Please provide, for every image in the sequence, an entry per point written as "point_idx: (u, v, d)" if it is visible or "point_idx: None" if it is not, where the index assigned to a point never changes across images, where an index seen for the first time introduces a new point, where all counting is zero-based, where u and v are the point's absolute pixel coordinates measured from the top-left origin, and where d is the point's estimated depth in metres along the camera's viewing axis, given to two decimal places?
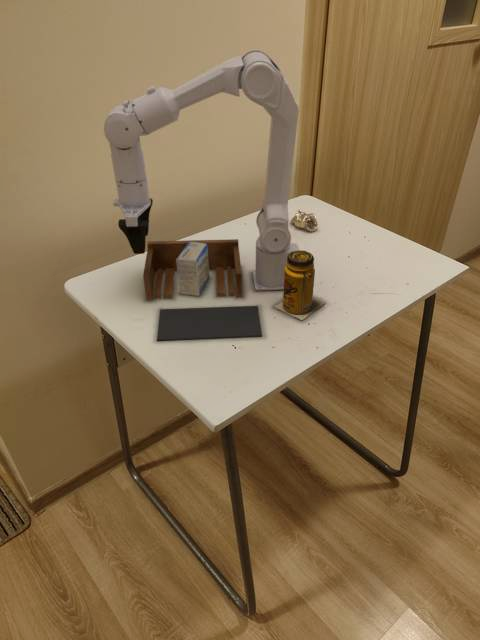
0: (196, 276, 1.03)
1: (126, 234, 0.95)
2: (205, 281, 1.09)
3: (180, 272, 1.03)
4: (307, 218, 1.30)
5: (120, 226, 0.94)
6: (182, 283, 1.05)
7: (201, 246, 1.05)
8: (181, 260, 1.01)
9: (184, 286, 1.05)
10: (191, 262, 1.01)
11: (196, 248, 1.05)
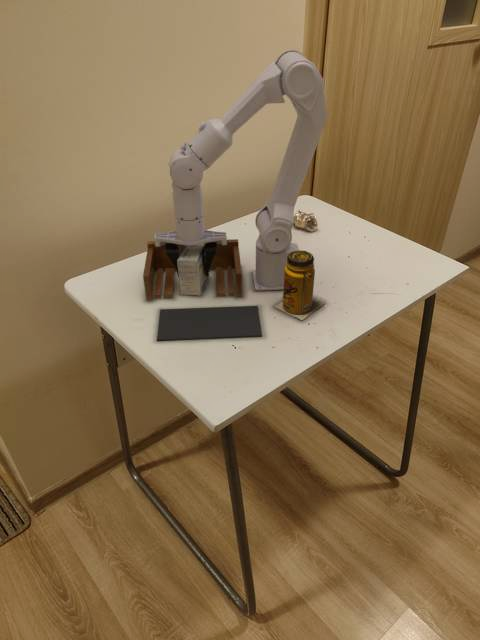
0: (198, 276, 1.03)
1: None
2: (205, 281, 1.09)
3: (181, 273, 1.03)
4: (307, 218, 1.30)
5: None
6: (183, 283, 1.05)
7: (200, 246, 1.05)
8: (182, 261, 1.01)
9: (185, 287, 1.05)
10: (192, 262, 1.01)
11: (195, 248, 1.05)
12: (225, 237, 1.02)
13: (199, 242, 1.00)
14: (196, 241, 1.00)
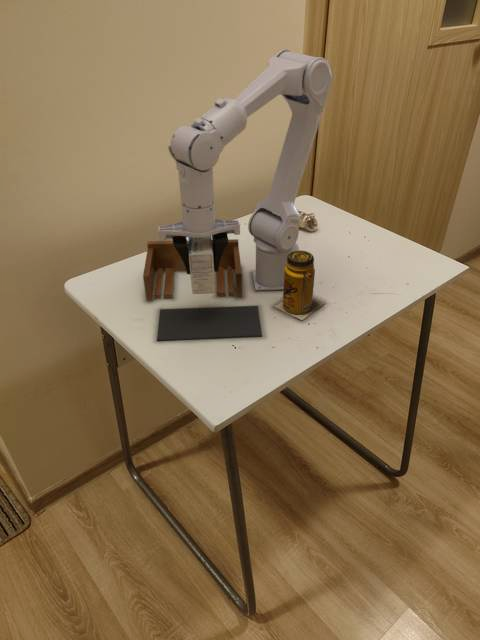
0: (213, 271, 0.92)
1: None
2: None
3: (193, 269, 0.91)
4: (307, 218, 1.30)
5: None
6: (196, 281, 0.93)
7: (207, 237, 0.94)
8: (195, 256, 0.89)
9: (198, 285, 0.93)
10: (207, 256, 0.89)
11: (203, 240, 0.93)
12: (238, 225, 0.90)
13: (211, 233, 0.88)
14: (207, 232, 0.88)
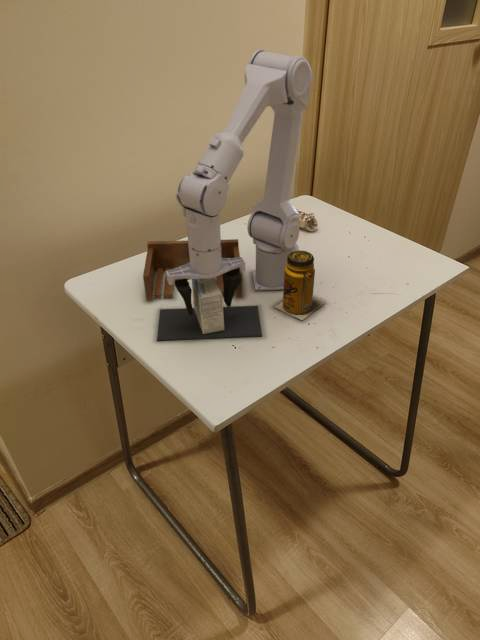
0: (222, 310, 0.94)
1: None
2: None
3: (204, 311, 0.92)
4: (307, 218, 1.30)
5: None
6: (206, 322, 0.94)
7: None
8: (205, 298, 0.91)
9: (208, 325, 0.95)
10: (216, 297, 0.91)
11: (208, 281, 0.94)
12: (244, 263, 0.92)
13: (219, 273, 0.90)
14: (217, 272, 0.89)
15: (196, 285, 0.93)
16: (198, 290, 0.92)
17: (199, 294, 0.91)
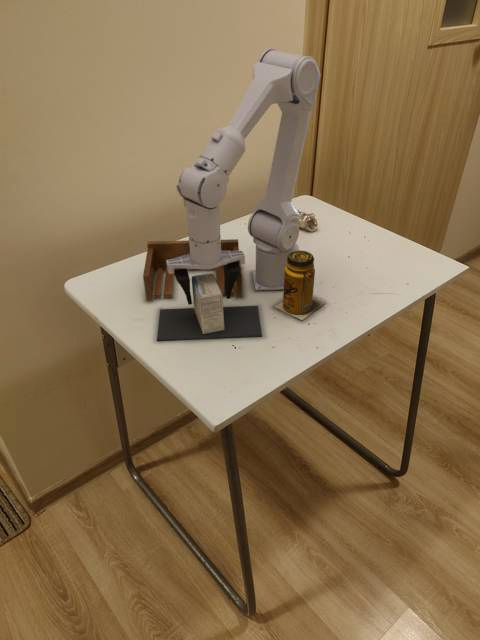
0: (222, 310, 0.93)
1: None
2: None
3: (204, 311, 0.92)
4: (307, 218, 1.30)
5: None
6: (206, 322, 0.94)
7: (210, 277, 0.95)
8: (205, 298, 0.91)
9: (208, 325, 0.95)
10: (216, 297, 0.91)
11: (208, 281, 0.94)
12: (243, 256, 0.94)
13: (218, 264, 0.91)
14: (215, 264, 0.91)
15: (196, 285, 0.93)
16: (198, 290, 0.92)
17: (199, 294, 0.91)
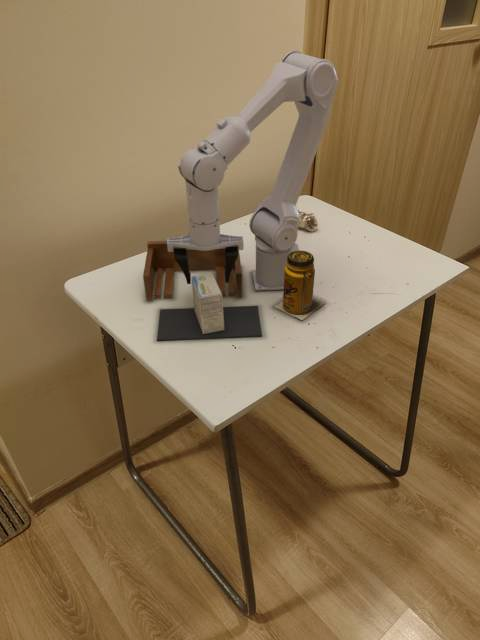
0: (222, 310, 0.93)
1: None
2: None
3: (204, 311, 0.92)
4: (307, 218, 1.30)
5: None
6: (206, 322, 0.94)
7: (210, 277, 0.95)
8: (205, 298, 0.91)
9: (208, 325, 0.95)
10: (216, 297, 0.91)
11: (208, 281, 0.94)
12: (242, 241, 0.96)
13: (215, 247, 0.94)
14: (211, 246, 0.94)
15: (196, 285, 0.93)
16: (198, 290, 0.92)
17: (199, 294, 0.91)
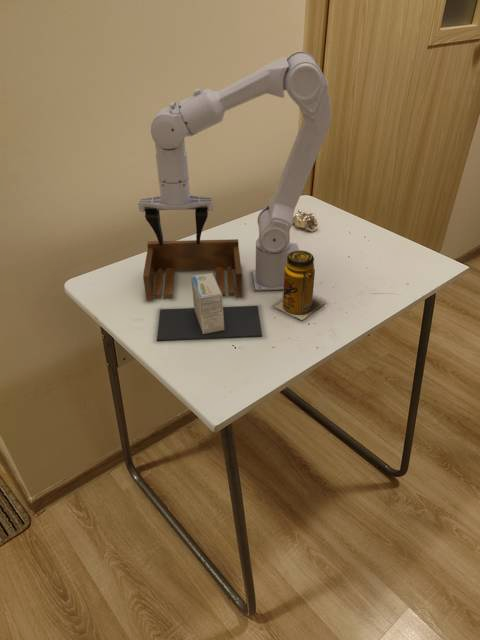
0: (222, 310, 0.93)
1: None
2: None
3: (204, 311, 0.92)
4: (307, 218, 1.30)
5: None
6: (206, 322, 0.94)
7: (210, 277, 0.95)
8: (205, 298, 0.91)
9: (208, 325, 0.95)
10: (216, 297, 0.91)
11: (208, 281, 0.94)
12: (211, 202, 0.99)
13: (184, 207, 0.97)
14: (181, 205, 0.97)
15: (196, 285, 0.93)
16: (198, 290, 0.92)
17: (199, 294, 0.91)
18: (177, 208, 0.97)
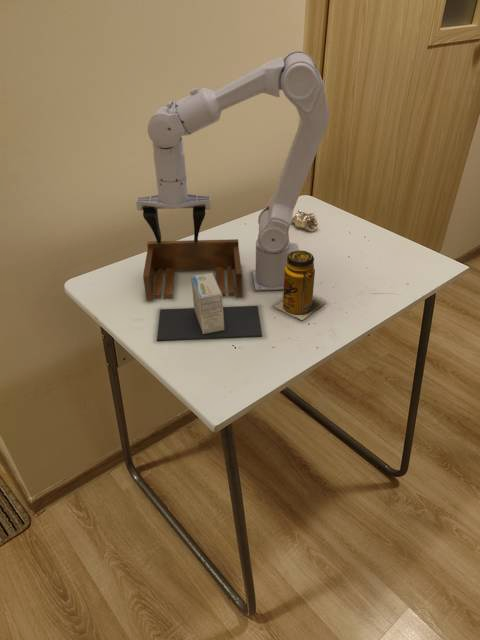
0: (222, 310, 0.93)
1: None
2: None
3: (204, 311, 0.92)
4: (307, 218, 1.30)
5: None
6: (206, 322, 0.94)
7: (210, 277, 0.95)
8: (205, 298, 0.91)
9: (208, 325, 0.95)
10: (216, 297, 0.91)
11: (208, 281, 0.94)
12: (209, 201, 0.99)
13: (182, 205, 0.98)
14: (179, 204, 0.97)
15: (196, 285, 0.93)
16: (198, 290, 0.92)
17: (199, 294, 0.91)
18: (175, 207, 0.97)
